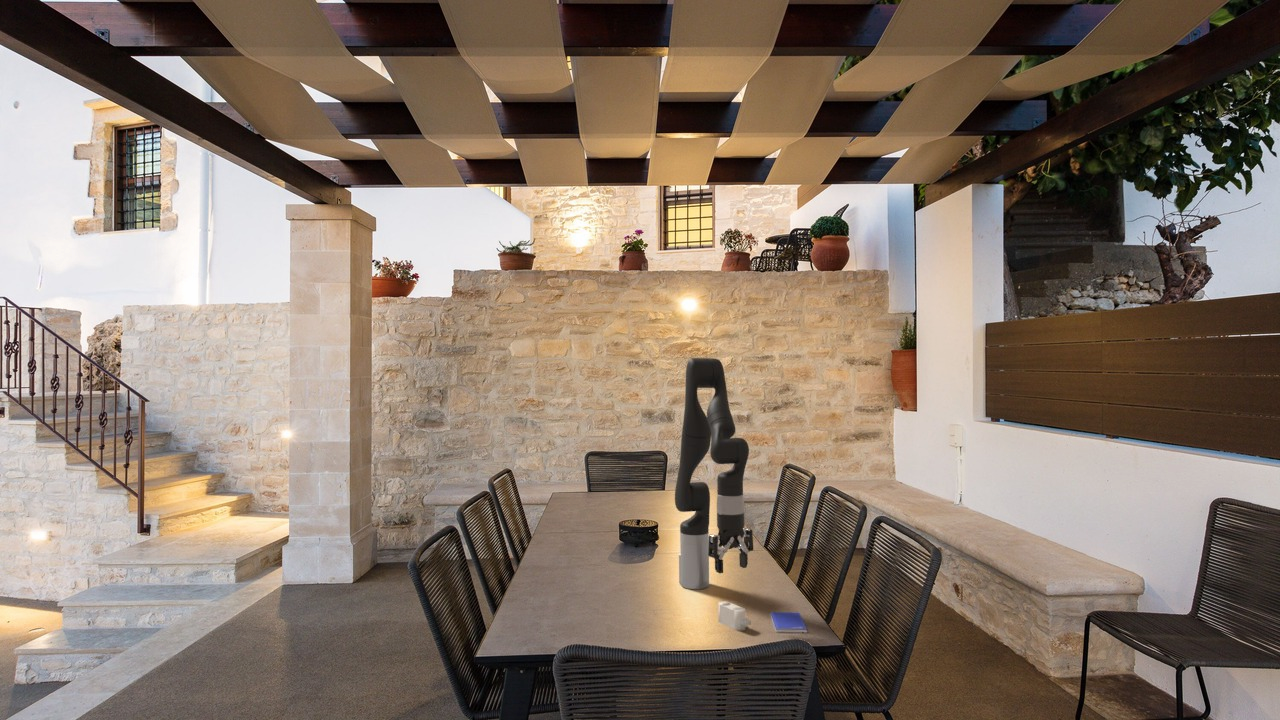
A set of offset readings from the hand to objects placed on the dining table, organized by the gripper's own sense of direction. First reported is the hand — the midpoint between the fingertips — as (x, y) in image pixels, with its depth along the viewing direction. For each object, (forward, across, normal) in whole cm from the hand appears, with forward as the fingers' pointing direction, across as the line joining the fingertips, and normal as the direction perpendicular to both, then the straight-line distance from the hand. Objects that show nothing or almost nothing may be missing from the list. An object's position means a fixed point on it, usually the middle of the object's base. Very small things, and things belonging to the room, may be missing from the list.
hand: (731, 569), depth 190 cm
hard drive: (+16, -13, +8) cm, 22 cm away
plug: (+15, 0, 0) cm, 15 cm away
